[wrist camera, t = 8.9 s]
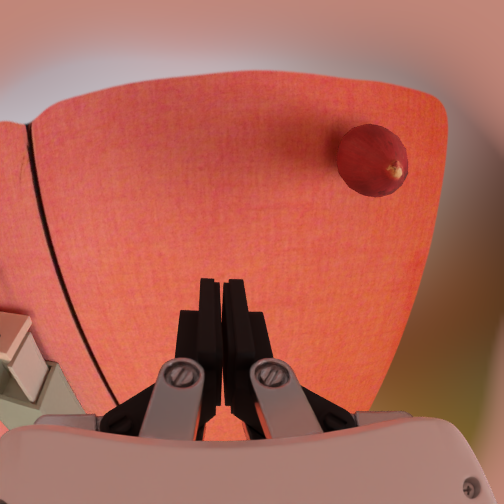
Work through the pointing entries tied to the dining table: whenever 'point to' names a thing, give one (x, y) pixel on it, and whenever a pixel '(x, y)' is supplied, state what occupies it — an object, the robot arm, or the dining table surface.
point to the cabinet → (41, 401)
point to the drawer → (20, 359)
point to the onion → (372, 160)
